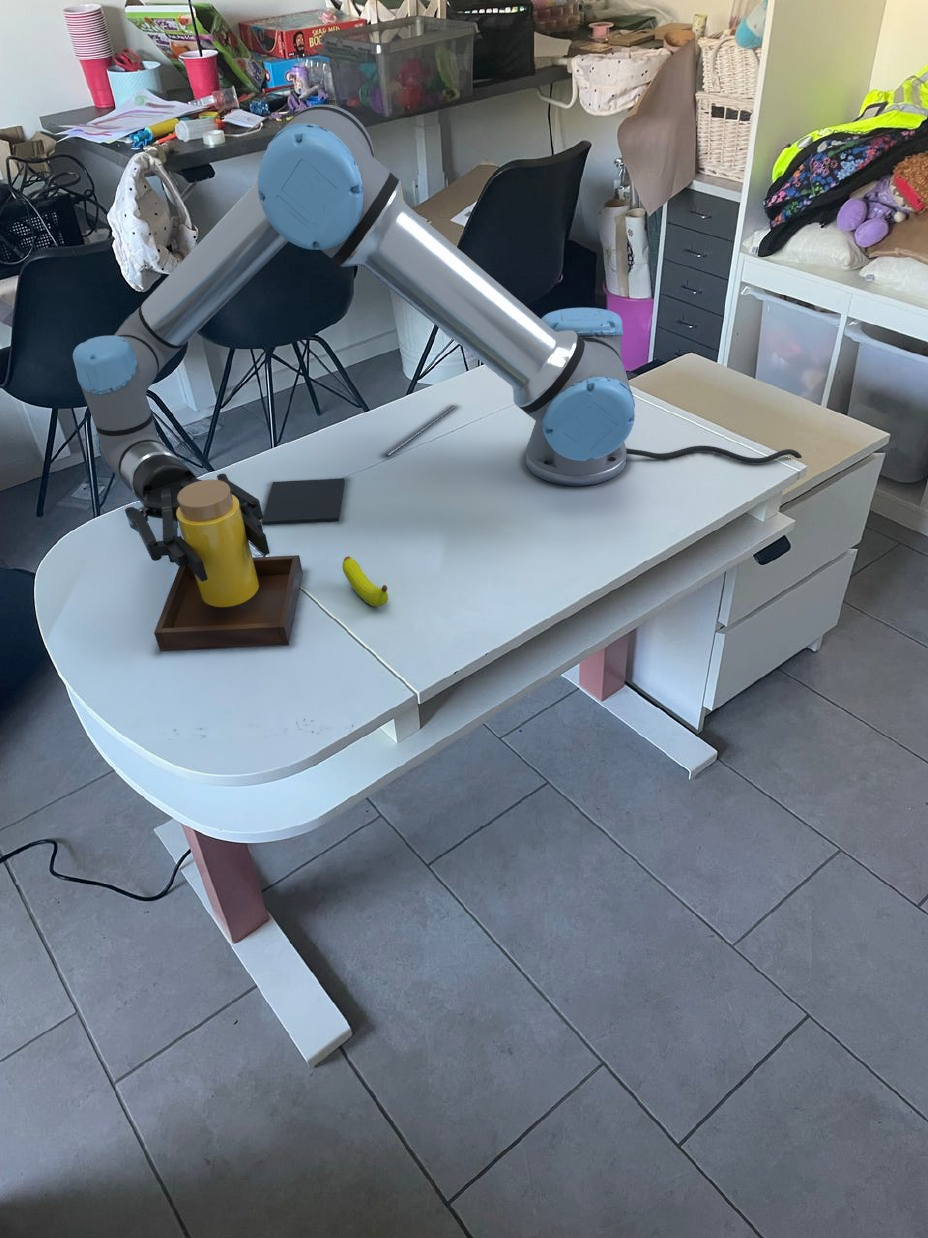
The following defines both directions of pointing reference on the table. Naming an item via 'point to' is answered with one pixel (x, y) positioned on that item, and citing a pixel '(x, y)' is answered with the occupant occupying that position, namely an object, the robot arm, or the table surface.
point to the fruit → (364, 584)
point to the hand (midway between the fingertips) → (233, 557)
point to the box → (232, 611)
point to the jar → (218, 542)
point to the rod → (420, 431)
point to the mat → (304, 501)
